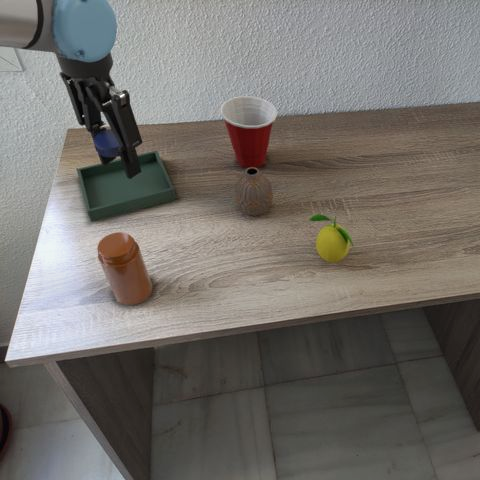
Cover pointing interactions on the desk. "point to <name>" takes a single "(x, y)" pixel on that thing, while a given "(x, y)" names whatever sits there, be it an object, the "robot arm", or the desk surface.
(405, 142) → the desk surface
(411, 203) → the desk surface
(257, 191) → the vase
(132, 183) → the tray
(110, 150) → the jar lid
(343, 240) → the lemon
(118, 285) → the jam jar
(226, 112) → the plastic cup
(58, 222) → the desk surface
